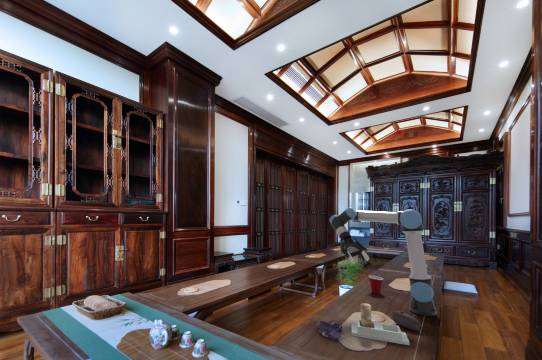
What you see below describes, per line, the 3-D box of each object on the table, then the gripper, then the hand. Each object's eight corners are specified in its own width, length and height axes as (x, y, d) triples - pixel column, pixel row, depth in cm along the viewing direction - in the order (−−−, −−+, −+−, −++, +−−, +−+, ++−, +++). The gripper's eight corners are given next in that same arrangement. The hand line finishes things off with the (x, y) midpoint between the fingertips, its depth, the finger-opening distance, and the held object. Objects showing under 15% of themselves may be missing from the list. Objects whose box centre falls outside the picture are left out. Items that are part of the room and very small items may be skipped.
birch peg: (371, 328, 132) (370, 303, 134) (372, 332, 127) (371, 306, 129) (360, 327, 133) (360, 302, 135) (361, 331, 128) (361, 305, 130)
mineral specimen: (317, 339, 124) (317, 330, 124) (320, 326, 137) (320, 318, 137) (341, 343, 120) (341, 334, 121) (342, 329, 133) (342, 321, 134)
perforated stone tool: (424, 332, 133) (423, 318, 134) (419, 334, 131) (418, 320, 131) (397, 321, 146) (396, 308, 147) (391, 323, 143) (391, 310, 144)
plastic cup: (385, 295, 192) (385, 279, 193) (370, 294, 194) (369, 278, 196) (382, 291, 202) (381, 275, 204) (367, 290, 205) (367, 274, 206)
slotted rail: (405, 335, 129) (405, 326, 129) (409, 345, 119) (409, 335, 120) (351, 327, 137) (351, 318, 137) (351, 335, 127) (351, 325, 128)
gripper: (354, 237, 184) (371, 262, 169) (326, 238, 173) (342, 265, 158) (359, 230, 179) (377, 256, 164) (332, 231, 168) (348, 258, 153)
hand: (360, 260), depth 161 cm, fingers open, 13 cm apart
